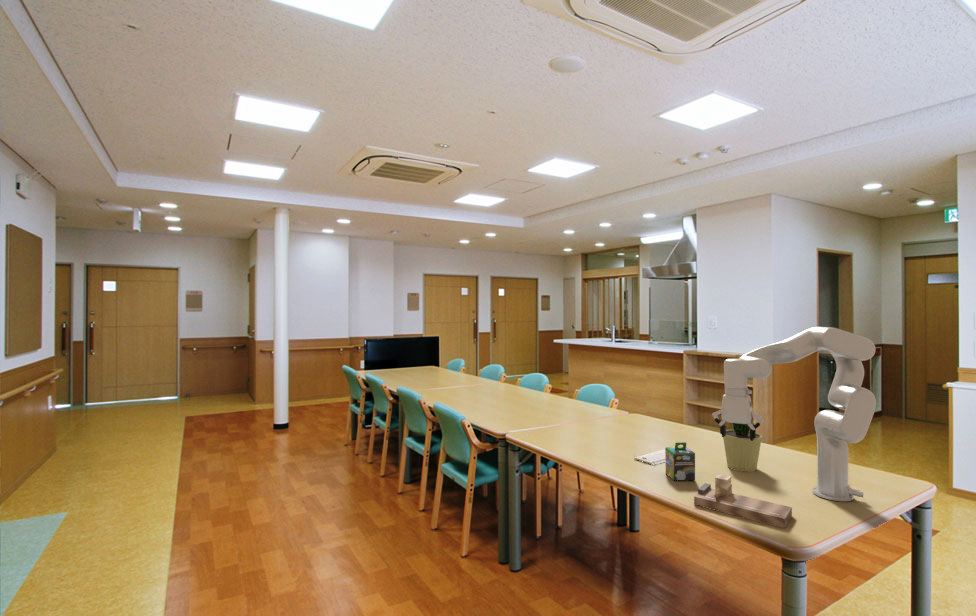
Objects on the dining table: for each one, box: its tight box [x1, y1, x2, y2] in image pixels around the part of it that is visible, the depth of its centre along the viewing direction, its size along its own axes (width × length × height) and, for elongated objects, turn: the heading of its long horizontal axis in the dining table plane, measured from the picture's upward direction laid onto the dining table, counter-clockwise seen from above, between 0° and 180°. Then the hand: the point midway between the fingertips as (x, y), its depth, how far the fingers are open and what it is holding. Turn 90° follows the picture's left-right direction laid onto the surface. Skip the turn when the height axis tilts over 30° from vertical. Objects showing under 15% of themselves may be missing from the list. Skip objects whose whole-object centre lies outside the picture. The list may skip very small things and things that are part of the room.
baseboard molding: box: [633, 448, 666, 466], centre depth 229 cm, size 31×3×12 cm
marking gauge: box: [714, 473, 733, 500], centre depth 174 cm, size 4×12×8 cm, turn 139°
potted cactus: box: [722, 419, 763, 473], centre depth 214 cm, size 15×15×30 cm
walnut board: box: [693, 482, 793, 529], centre depth 169 cm, size 28×12×4 cm, turn 49°
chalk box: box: [664, 441, 696, 482], centre depth 202 cm, size 9×9×15 cm
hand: (737, 438), depth 181 cm, fingers open, 9 cm apart
